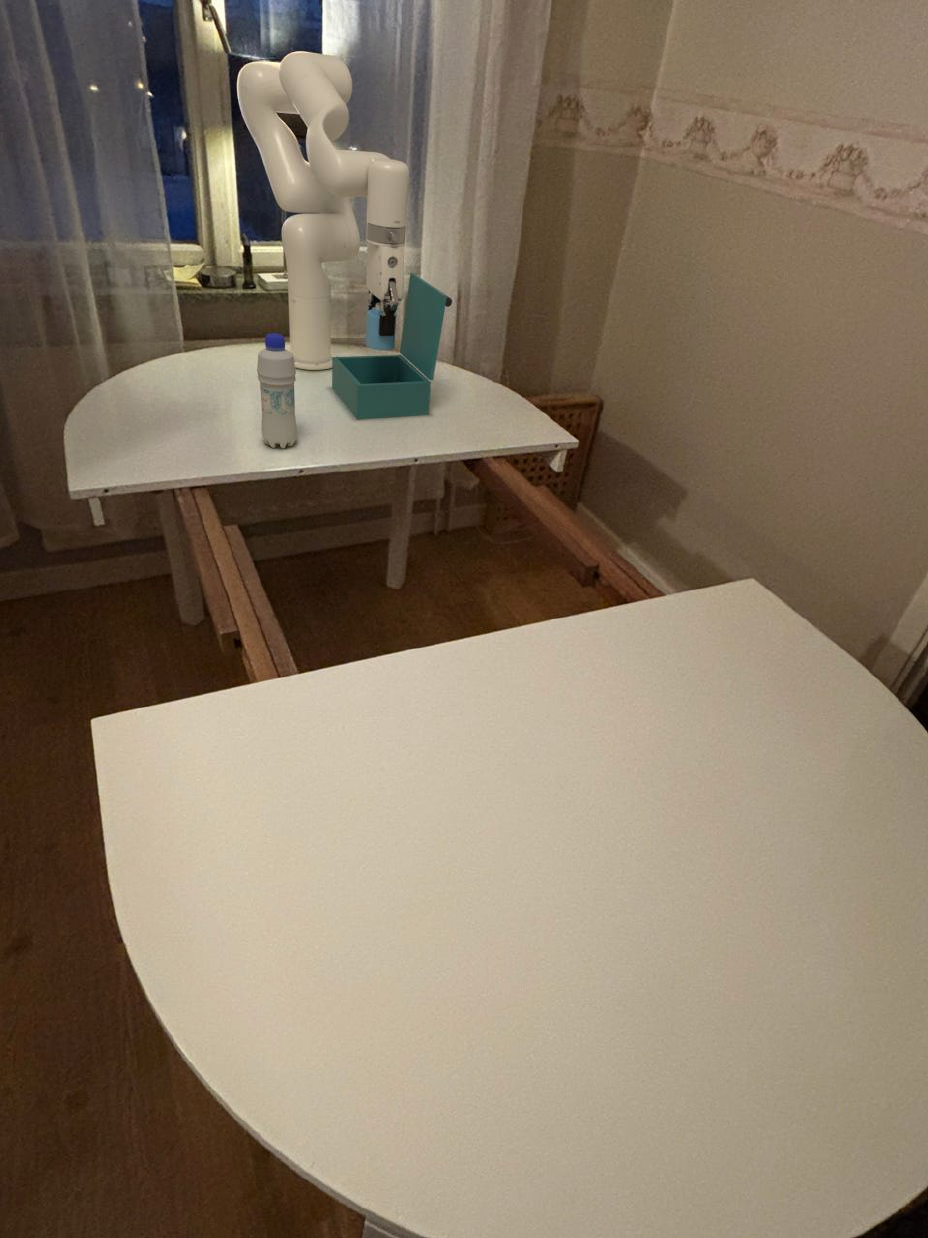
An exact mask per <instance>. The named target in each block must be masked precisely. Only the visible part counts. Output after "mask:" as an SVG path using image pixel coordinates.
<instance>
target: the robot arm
mask: <svg viewBox="0 0 928 1238" xmlns="http://www.w3.org/2000/svg"><path fill="white" fill-rule="evenodd" d="M236 92H237V100H238V105H239V109H240V112H241V117H242V118H243V121H244V123H245V125H246V127H247V129H248V131H249V133H250V135H251V137H252V139H253V140H254V143H255V145H256V146H257V148H258V151H259V153H260V158H261V160H262V163H263V166H264V170H265V173H266V175H267V179H268V181H269V184H270V187H271V190H272V193H273V196H274V198H275V201H276V203H277V205H278V206H279V208H280V209H281V210H283V211H285V212H287V213H297V214H293V215H291V216H289V217H288V218H287V219H286V220H285V221H284V222H283V225H282V227H281V241H282V248H283V251H284V257H285V263H286V273H287V290H288V291H287V292H288V295H287V296H288V323H289V351H290V352H291V353H292V354H293V358H294V365H295V369H300V370H308V371H323V370H327V369H332V357H337V356H336V355H335V354H334V353H332V333H331V332H332V303H331V302H332V289H331V286H332V285H331V282H330V279H329V277H328V274H327V272H326V271H325V270H324V268H323V266H322V263H330V262H332V263H333V262H345V261H350V260H353V259H354V258H355V257H356V256H357V255H358V254H359V251H360V247H361V236H360V235H361V234H360V230H359V226H358V223H357V219H356V217H355V213H354V209H353V207H352V204H351V199H350V198H366V225H365V227H366V228H365V242H367V243H368V247H367V256H366V257H367V259H366V269H365V271H366V273H365V274H366V275H365V283H366V284H365V285H366V288H367V290H368V301H367V302H368V308H367V309H368V310H367V311H369V310H372V308H373V307H376V303H381V314H382V315H380V317H379V335H380V336H394V332H395V333H396V330H395V316H396V317H397V310H398V307H399V305H400V302H401V301H403V299H404V292H405V291H404V290H405V289H404V288H405V287H404V285H405V253H404V246H405V245H406V243H405V242H406V233H407V231H406V230H407V215H408V214H407V212H408V198H409V183H410V169H409V167H408V165H407V164H406V163H405V162H403V161H402V160H396V159H392V158H389V156H387V155H385V154H384V153H381V152H376V151H363V150H350V149H349V150H347V149H345V150H343V149H337V148H336V147H335V145H334V144H333V142H335V141H337V140H338V139H339V138H341V136H343V134H344V133H345V131H346V129H347V127H348V125H349V121H350V111H349V108H348V106H347V104H348V103H349V101H350V99H351V96H352V93H353V79H352V75H351V72H350V70H349V68H348V65H347V64H346V63H345V62H344V61H343V60H342V59H341V58H339V57H337V56H335V55H330V54H324V53H316V52H310V51H302V50H301V51H294V52H290V53H288V54H286V56H284V57H283V59H281V61H280V62H273V61H252V62H248V63H247V64H244V65H243V67H241V69H240V70H239V72H238V75H237V81H236ZM278 113H282V114H291V115H293V114H295V115H299V116H300V118H301V119H302V121H303V122H304V124H305V125H306V127H307V131H306V137H305V148H306V156H307V160H305V158H304V156H303V154H302V151H301V148H300V144H299V141H298V140H297V137H296V135H295V134H294V132H293V131H292V130H291V128H290V127H289V126H288V125H287V124H286V122H284V121H283V120H282V118H281V117H279V115H278ZM386 297H389V298H386ZM385 303H386V304H388V305H387V306H386V308H385Z"/></svg>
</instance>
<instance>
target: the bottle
mask: <svg viewBox="0 0 928 1238" xmlns="http://www.w3.org/2000/svg"><path fill="white" fill-rule="evenodd" d="M264 345H265V348H264V349H261V350H260V351H259V352H258V354H257V366H256V367H257V368H256V372H257V380H258V381H259V389H260V405H261V436H262V440H263V442H264V444H266V445H267V446H270V447H271V448H274V449H275V448H276V447H277V444H279V446H280V449H285V448H286V447H292V446H294V443H295V441H296V438H297V420H296V405H295V403H296V402H295V382H296V380H297V378H296V373H297V370H296V367H295V365H294V358H293V354H292V353H291V352H290V350H288V349H286V339H285V337H284V336H283V334H280V333H274V332H273V333H268V334H267V335H266V336H265V338H264Z"/></svg>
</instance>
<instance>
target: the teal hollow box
mask: <svg viewBox="0 0 928 1238" xmlns="http://www.w3.org/2000/svg"><path fill="white" fill-rule="evenodd" d="M331 369H332V370H331V374H332V375H331V383H332V384H331V385H332V386H331V389H332V390H333V391H334V393H335V394H336V395H337V397H339V399H340V400H341V401H342V402H343V404H344V405H345V406H346V408H347V409H348V410H349V411H350V412H351V414H352V415H353V416H354V418H356V420H366V419H367V420H368V419H369V420H370V419H384V418H399V417H414V416H428V415H430V402H431V392H432V391H431V389H432V382H431V380H429V379H428V378H427V377H426V376H425V375H424V374H423V373H421V372H420V371H419V370H418V369H417V368H416V367H415V366H414V365H413V364H412V363H411V362H409V361H408V360H407V359H406V358H405V357H404V356H403V355H402V354H385V355H383V354H382V355H357V356H356V355H353V356H336V357H332V368H331Z"/></svg>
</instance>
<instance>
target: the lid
mask: <svg viewBox="0 0 928 1238" xmlns="http://www.w3.org/2000/svg"><path fill="white" fill-rule="evenodd" d="M408 280H409V281H408V288H407V295H406V302H405V309H404V318H403V325H402V332H401V340H400V347H399V354H400V355H402V356H403V357H404V358H405V359H406V360H407V361H408V362H409V363H410V364H411V365H413V366H414V367H415V368H416V369H417V370H418V371H419V372H420V373H421V374H422V375H423V376H425V377H426V378H427V379H428V380H429V381H434V377H435V371H436V365H437V359H438V353H439V347H440V340H441V334H442V329H443V328H442V327H443V322H444V316H445V311H446V310H445V309H446V308H450V307H451V306H452V305H453V299H452V298H451V297H450V296H448V295H446V294H445V293H444V292H442V291H441V290H439V289H438V288H436V287H435V286H433V285H431V284H430V283H429V282H427V281H426V280H425V279H423V278H422V277H420V276H418V275H417V274H415V273H413V272H410V273H409V279H408Z"/></svg>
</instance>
